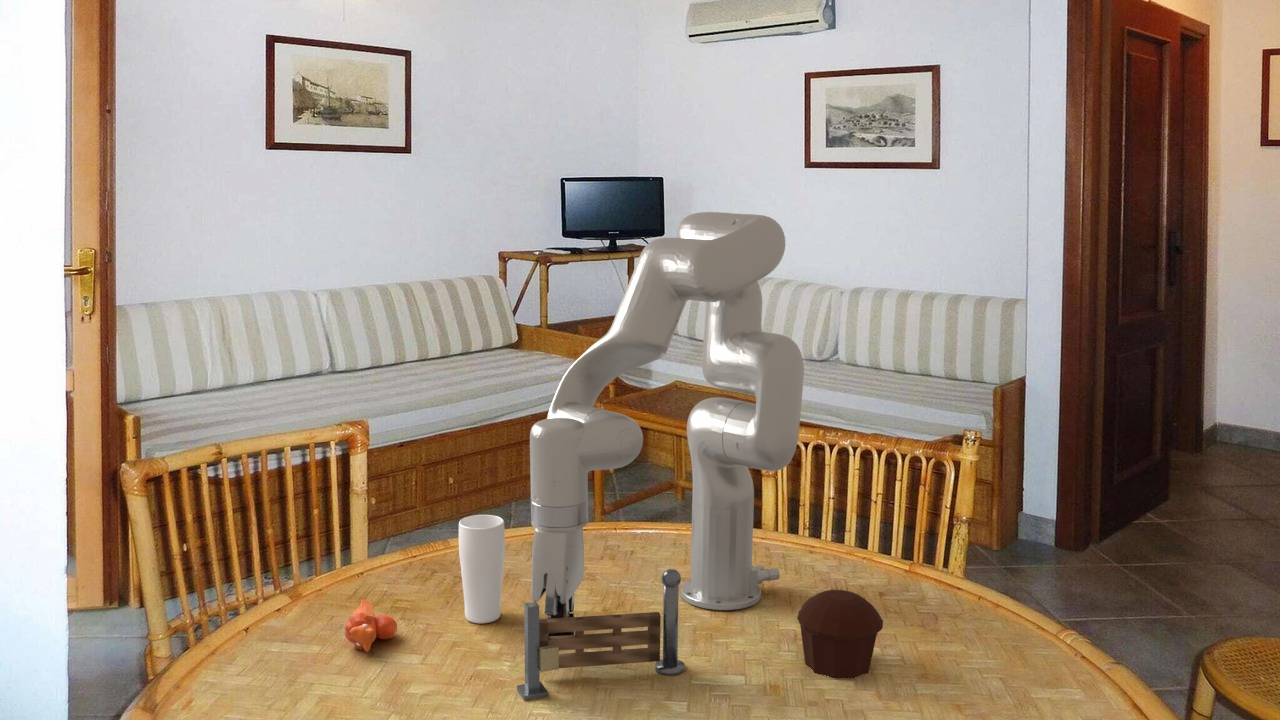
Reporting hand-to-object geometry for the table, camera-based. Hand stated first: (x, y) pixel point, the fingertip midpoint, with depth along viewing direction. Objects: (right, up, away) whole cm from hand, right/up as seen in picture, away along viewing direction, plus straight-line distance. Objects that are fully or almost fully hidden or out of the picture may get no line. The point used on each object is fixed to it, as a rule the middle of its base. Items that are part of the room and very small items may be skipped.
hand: (561, 642), depth 155 cm
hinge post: (+15, -4, 0) cm, 15 cm away
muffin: (+38, -4, +2) cm, 38 cm away
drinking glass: (-13, -1, +16) cm, 21 cm away
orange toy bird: (-27, -2, +8) cm, 29 cm away
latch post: (-3, -5, -8) cm, 9 cm away
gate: (+5, -2, -2) cm, 6 cm away
